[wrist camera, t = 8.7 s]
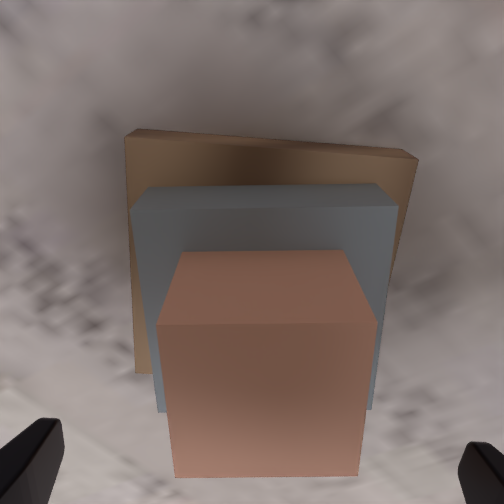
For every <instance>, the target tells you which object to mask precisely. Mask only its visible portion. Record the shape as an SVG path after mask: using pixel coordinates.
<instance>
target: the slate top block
mask: <svg viewBox="0 0 504 504" xmlns="http://www.w3.org/2000/svg"><path fill="white" fill-rule="evenodd" d="M398 208H399V206H398V205H397V204H396V203H395V202H394V201H393V200H392V199H391V198H390V197H389V196H388V195H387V194H386V193H385V192H384V191H383V190H382V189H381V188H380V187H379V186H378V185H377V184H376V183H372V184H306V185H241V186H176V187H148V188H147V189H146V190H145V191H144V193H143V194H142V195H141V196H140V198H139V199H138V200H137V201H136V203H135V204H134V205H133V206H132V208H131V209H130V217H131V224H132V231H133V238H134V245H135V252H136V259H137V266H138V273H139V280H140V287H141V295H142V302H143V309H144V316H145V323H146V330H147V337H148V344H149V351H150V358H151V365H152V372H153V379H154V386H155V394H156V401H157V408H158V413H159V412H167V409H166V401H165V394H164V386H163V378H162V370H161V362H160V354H159V346H158V338H157V331H156V323H157V320H158V317H159V315H160V312H161V309H162V306H163V304H164V301H165V298H166V295H167V292H168V290H169V287H170V284H171V281H172V279H173V276H174V273H175V270H176V267H177V265H178V262H179V259H180V256H181V254H182V252H207V251H287V250H343V251H344V253H345V255H346V257H347V259H348V261H349V263H350V265H351V268H352V270H353V272H354V274H355V276H356V278H357V280H358V282H359V284H360V286H361V288H362V291H363V293H364V295H365V297H366V299H367V301H368V303H369V305H370V307H371V309H372V311H373V314H374V316H375V318H376V320H377V322H378V325H377V332H376V340H375V348H374V355H373V363H372V371H371V378H370V386H369V394H368V401H367V409H366V410H371V409H372V402H373V394H374V387H375V380H376V372H377V365H378V357H379V350H380V342H381V335H382V327H383V320H384V312H385V305H386V298H387V290H388V283H389V275H390V268H391V260H392V253H393V245H394V238H395V231H396V223H397V216H398Z"/></svg>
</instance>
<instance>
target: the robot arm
mask: <svg viewBox="0 0 504 504" xmlns="http://www.w3.org/2000/svg"><path fill="white" fill-rule="evenodd" d="M64 448H65V446H64V438H63V431H62V424H61V421H60V420H59V419H57V418H40V419H38V420H36V421H35V422H34V423H32V424H31V425H30V426H29V427H27V428H26V429H25V430H24V431H22V432H21V433H20V434H19V435H17V436H16V437H15V438H14V439H12V440H11V441H10V442H8V443H7V444H6V445H5V446H3V447H2V448H1V449H0V504H48V501H49V498H50V495H51V492H52V489H53V486H54V483H55V480H56V477H57V474H58V471H59V468H60V465H61V462H62V459H63V455H64ZM458 477H459V481H460V484H461V488H462V491H463V494H464V498H465V501H466V504H504V455H503V454H502V453H501V452H500V451H498V450H497V449H496V448H495V447H494V446H492V445H491V444H489V443H486V442H469V443H468V444H467V446H466V448H465V451H464V453H463V456H462V458H461V461H460V463H459V466H458Z"/></svg>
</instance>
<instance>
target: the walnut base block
mask: <svg viewBox="0 0 504 504" xmlns="http://www.w3.org/2000/svg"><path fill="white" fill-rule="evenodd" d="M124 141H125V162H126V183H127V204H128V226H129V247H130V268H131V289H132V311H133V332H134V353H135V373H143V374H153V372H152V365H151V358H150V351H149V344H148V337H147V330H146V323H145V316H144V309H143V302H142V295H141V287H140V280H139V273H138V266H137V259H136V252H135V245H134V238H133V231H132V224H131V217H130V209H131V208H132V206H133V205H134V204H135V203H136V201H137V200H138V199H139V198H140V196H141V195H142V194H143V193H144V191H145V190H146V189H147V188H148V187H176V186H241V185H306V184H372V183H376V184H377V185H378V186H379V187H380V188H381V189H382V190H383V191H384V192H385V193H386V194H387V195H388V196H389V197H390V198H391V199H392V200H393V201H394V202H395V203H396V204H397V205H398V206H399V208H398V216H397V223H396V231H395V238H394V245H393V253H392V260H391V268H390V275H389V282H390V278H391V273H392V269H393V265H394V261H395V257H396V253H397V248H398V244H399V240H400V236H401V232H402V227H403V223H404V219H405V215H406V211H407V207H408V202H409V198H410V194H411V190H412V186H413V182H414V177H415V173H416V169H417V165H418V161H419V159H417V158H415V157H414V156H412V155H410V154H409V153H407V152H405V151H404V150H402V149H392V148H379V147H367V146H354V145H341V144H328V143H315V142H302V141H290V140H277V139H264V138H251V137H238V136H225V135H213V134H200V133H187V132H174V131H161V130H148V129H136V130H134V131H133V132H131V133H130V134H128V135H126V136H125V137H124ZM388 286H389V283H388Z"/></svg>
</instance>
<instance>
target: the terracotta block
mask: <svg viewBox="0 0 504 504" xmlns="http://www.w3.org/2000/svg"><path fill="white" fill-rule="evenodd" d="M377 325H378V322H377V320H376V318H375V316H374V314H373V311H372V309H371V307H370V305H369V303H368V301H367V299H366V297H365V295H364V293H363V291H362V288H361V286H360V284H359V282H358V280H357V278H356V276H355V274H354V272H353V270H352V268H351V265H350V263H349V261H348V259H347V257H346V255H345V253H344V251H343V250H287V251H207V252H182V254H181V256H180V259H179V262H178V265H177V267H176V270H175V273H174V276H173V279H172V281H171V284H170V287H169V290H168V292H167V295H166V298H165V301H164V304H163V306H162V309H161V312H160V315H159V317H158V320H157V323H156V331H157V338H158V346H159V354H160V362H161V370H162V378H163V386H164V394H165V401H166V409H167V417H168V425H169V433H170V441H171V449H172V457H173V464H174V472H175V478H226V477H330V476H358V470H359V463H360V455H361V447H362V440H363V432H364V424H365V417H366V409H367V401H368V394H369V386H370V378H371V371H372V363H373V355H374V348H375V340H376V332H377Z"/></svg>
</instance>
